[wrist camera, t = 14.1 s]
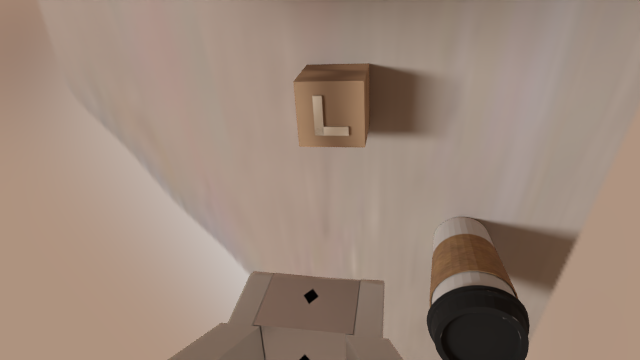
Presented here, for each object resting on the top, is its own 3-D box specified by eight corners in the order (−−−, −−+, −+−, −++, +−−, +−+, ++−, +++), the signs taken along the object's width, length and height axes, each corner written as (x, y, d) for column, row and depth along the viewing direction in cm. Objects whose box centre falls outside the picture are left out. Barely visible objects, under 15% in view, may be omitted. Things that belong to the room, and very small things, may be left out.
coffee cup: (435, 276, 52) (445, 387, 39) (411, 218, 49) (414, 319, 36) (509, 259, 49) (547, 373, 36) (489, 197, 46) (522, 298, 33)
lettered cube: (311, 125, 46) (298, 149, 40) (307, 64, 43) (292, 82, 37) (369, 125, 45) (364, 150, 39) (369, 63, 42) (363, 81, 36)
